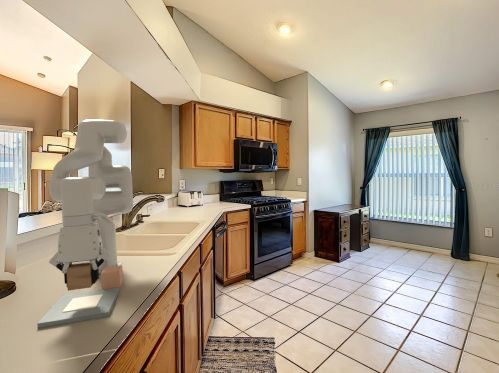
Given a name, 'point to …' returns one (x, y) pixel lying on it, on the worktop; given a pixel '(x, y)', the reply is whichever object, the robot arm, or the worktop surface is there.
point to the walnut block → (79, 275)
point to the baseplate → (80, 307)
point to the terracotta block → (112, 277)
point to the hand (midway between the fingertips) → (82, 283)
